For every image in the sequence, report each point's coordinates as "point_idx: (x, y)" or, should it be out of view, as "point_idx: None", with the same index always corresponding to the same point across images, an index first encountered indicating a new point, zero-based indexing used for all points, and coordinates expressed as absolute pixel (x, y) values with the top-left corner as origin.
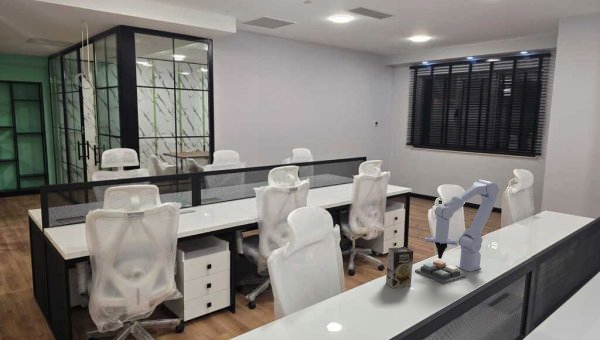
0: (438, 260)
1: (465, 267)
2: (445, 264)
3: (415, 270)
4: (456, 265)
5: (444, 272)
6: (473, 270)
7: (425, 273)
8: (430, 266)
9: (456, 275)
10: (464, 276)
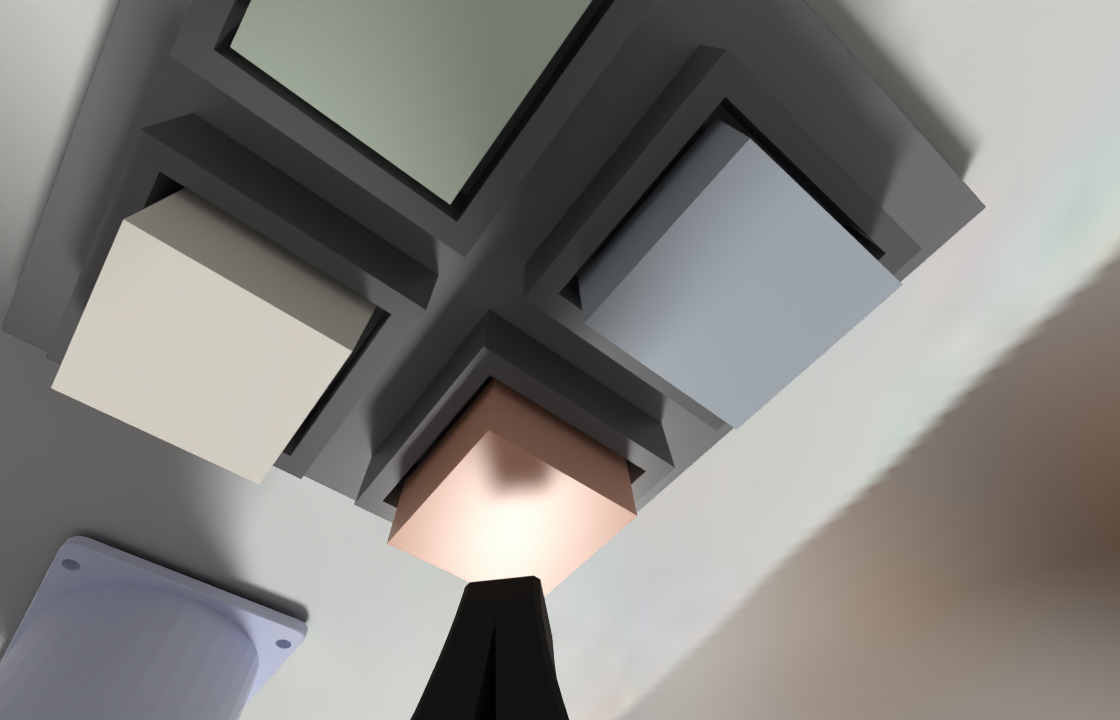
0: None
1: (137, 605)
2: (396, 513)
3: (969, 198)
4: (296, 639)
5: (328, 21)
6: (41, 586)
7: (796, 61)
8: (734, 183)
9: None
10: (25, 295)
